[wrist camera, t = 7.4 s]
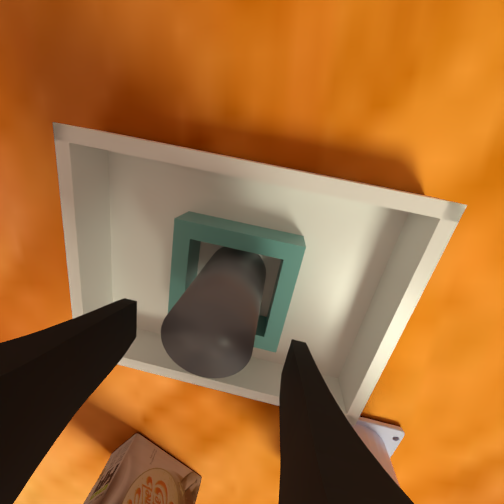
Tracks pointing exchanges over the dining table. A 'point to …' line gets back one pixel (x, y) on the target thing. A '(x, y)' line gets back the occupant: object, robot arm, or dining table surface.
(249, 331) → the cylinder
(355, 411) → the walled box
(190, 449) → the dining table surface
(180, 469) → the coffee box
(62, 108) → the dining table surface
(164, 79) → the dining table surface
